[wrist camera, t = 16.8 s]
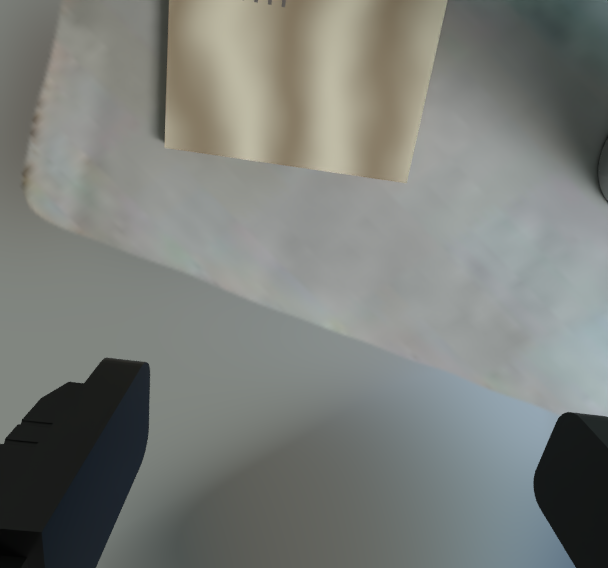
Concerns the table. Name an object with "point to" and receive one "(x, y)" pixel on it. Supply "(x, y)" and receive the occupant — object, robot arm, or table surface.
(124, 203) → the table surface
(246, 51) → the board
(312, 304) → the table surface
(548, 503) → the robot arm
